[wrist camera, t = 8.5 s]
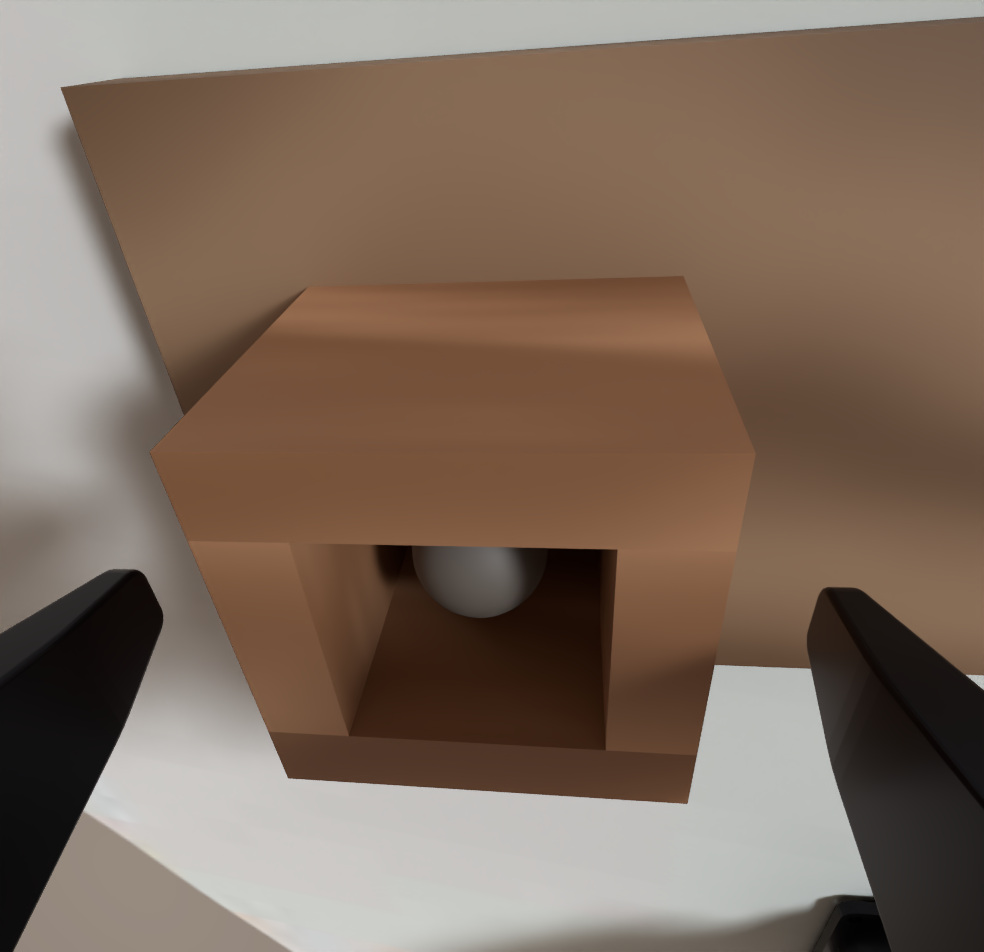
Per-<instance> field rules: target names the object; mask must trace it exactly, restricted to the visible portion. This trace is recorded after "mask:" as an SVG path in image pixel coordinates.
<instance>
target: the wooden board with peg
mask: <svg viewBox="0 0 984 952" xmlns="http://www.w3.org/2000/svg"><path fill="white" fill-rule="evenodd" d="M61 90H62V93H63V95H64V98H65V101H66V103H67V106H68V109H69V111H70V114H71V117H72V119H73V122H74V124H75V127H76V130H77V132H78V135H79V138H80V140H81V143H82V146H83V148H84V151H85V154H86V156H87V159H88V162H89V164H90V167H91V170H92V172H93V175H94V178H95V180H96V183H97V185H98V188H99V191H100V193H101V196H102V199H103V201H104V204H105V207H106V209H107V212H108V215H109V217H110V220H111V223H112V225H113V228H114V231H115V233H116V236H117V239H118V241H119V244H120V246H121V249H122V252H123V254H124V257H125V260H126V262H127V265H128V268H129V270H130V273H131V276H132V278H133V281H134V284H135V286H136V289H137V292H138V294H139V297H140V300H141V302H142V305H143V308H144V310H145V313H146V315H147V318H148V321H149V323H150V326H151V329H152V331H153V334H154V337H155V339H156V342H157V345H158V347H159V350H160V353H161V355H162V358H163V361H164V363H165V366H166V369H167V371H168V374H169V376H170V379H171V382H172V384H173V387H174V390H175V392H176V395H177V398H178V400H179V403H180V406H181V408H182V411H183V414H184V416H185V415H186V414H187V412H188V411H189V410H190V409H191V408H192V407H193V406H194V405H195V404H196V403H197V402H198V401H199V400H200V399H201V398H202V397H203V396H204V395H205V394H206V393H207V392H208V391H209V390H210V389H211V388H212V386H213V385H214V384H215V383H216V382H217V381H218V380H219V379H220V378H221V377H222V376H223V375H224V374H225V373H226V372H227V371H228V370H229V369H230V368H231V367H232V366H233V365H234V364H235V363H236V361H237V360H238V359H239V358H240V357H241V356H242V355H243V354H244V353H245V352H246V351H247V350H248V349H249V348H250V347H251V346H252V345H253V344H254V343H255V342H256V341H257V340H258V339H259V338H260V337H261V335H262V334H263V333H264V332H265V331H266V330H267V329H268V328H269V327H270V326H271V325H272V324H273V323H274V322H275V321H276V320H277V319H278V318H279V317H280V316H281V315H282V314H283V313H284V312H285V311H286V309H287V308H288V307H289V306H290V305H291V304H292V303H293V302H294V301H295V300H296V299H297V298H298V297H299V296H300V295H301V294H302V293H303V292H304V291H305V290H306V289H307V288H308V287H316V286H351V285H386V284H421V283H456V282H491V281H526V280H561V279H596V278H631V277H666V276H684V279H685V281H686V284H687V286H688V288H689V291H690V293H691V296H692V298H693V301H694V303H695V306H696V308H697V311H698V313H699V315H700V318H701V320H702V323H703V325H704V328H705V330H706V333H707V335H708V338H709V340H710V342H711V345H712V347H713V350H714V352H715V355H716V357H717V360H718V362H719V365H720V367H721V369H722V372H723V374H724V377H725V379H726V382H727V384H728V387H729V389H730V392H731V394H732V396H733V399H734V401H735V404H736V406H737V409H738V411H739V414H740V416H741V419H742V421H743V423H744V426H745V428H746V431H747V433H748V436H749V438H750V441H751V443H752V445H753V448H754V450H755V453H756V455H755V460H754V465H753V470H752V475H751V481H750V486H749V491H748V496H747V501H746V506H745V511H744V516H743V522H742V527H741V532H740V537H739V542H738V547H737V552H736V557H735V563H734V568H733V573H732V578H731V583H730V588H729V593H728V598H727V603H726V609H725V614H724V619H723V624H722V629H721V634H720V639H719V644H718V650H717V655H716V660H715V665H732V666H758V667H784V668H810V669H811V666H810V661H809V656H808V651H807V632H808V628H809V625H810V622H811V618H812V615H813V612H814V608H815V605H816V602H817V598H818V595H819V593H820V592H821V590H822V589H824V588H826V587H854V588H858V589H860V590H862V591H864V592H865V593H866V594H867V595H869V596H870V597H871V598H872V599H874V600H875V601H876V602H877V603H878V604H880V605H881V606H882V607H883V608H885V609H886V610H887V611H888V612H889V613H891V614H892V615H893V616H894V617H895V618H897V619H898V620H899V621H900V622H902V623H903V624H904V625H905V626H906V627H908V628H909V629H910V630H911V631H913V632H914V633H915V634H916V635H917V636H919V637H920V638H921V639H922V640H923V641H925V642H926V643H927V644H928V645H930V646H931V647H932V648H933V649H934V650H936V651H937V652H938V653H939V654H940V655H942V656H943V657H944V658H945V659H947V660H948V661H949V662H950V663H951V664H953V665H954V666H955V667H956V668H958V669H959V670H960V671H961V672H962V673H964V674H965V675H984V17H974V18H960V19H946V20H932V21H918V22H904V23H890V24H876V25H862V26H848V27H834V28H820V29H806V30H792V31H778V32H764V33H750V34H736V35H722V36H708V37H694V38H680V39H666V40H652V41H638V42H625V43H611V44H597V45H583V46H569V47H555V48H541V49H527V50H513V51H499V52H485V53H471V54H457V55H443V56H429V57H415V58H401V59H387V60H373V61H359V62H345V63H331V64H317V65H303V66H289V67H275V68H262V69H248V70H234V71H220V72H206V73H192V74H178V75H164V76H150V77H136V78H122V79H114V80H107V81H101V82H94V83H87V84H81V85H74V86H68V87H61ZM412 556H413V563H414V567H415V571H416V574H417V576H418V578H419V580H420V582H421V584H422V586H423V588H424V589H425V591H426V592H427V593H428V594H429V595H430V596H431V597H432V598H433V599H434V600H435V601H436V602H437V603H438V604H440V605H441V606H442V607H444V608H445V609H447V610H449V611H451V612H453V613H456V614H459V615H462V616H466V617H473V618H488V617H493V616H498V615H500V614H503V613H506V612H508V611H510V610H512V609H514V608H516V607H517V606H519V605H520V604H521V603H522V602H524V601H525V600H526V599H527V598H528V597H529V596H530V595H531V594H532V593H533V591H534V590H535V588H536V587H537V586H538V584H539V582H540V580H541V578H542V576H543V573H544V570H545V567H546V562H547V556H548V548H518V547H467V546H416V545H412Z"/></svg>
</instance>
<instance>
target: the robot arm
mask: <svg viewBox="0 0 984 952" xmlns="http://www.w3.org/2000/svg"><path fill="white" fill-rule="evenodd" d="M162 625H163V612H162V609H161V607H160V605H159V603H158V601H157V598H156V596H155V594H154V592H153V590H152V588H151V586H150V584H149V582H148V580H147V578H146V577H145V575H144V574H143V573H142V572H140V571H138V570H128V569H113V570H108V571H106V572H104V573H102V574H101V575H99V576H97V577H96V578H94V579H92V580H91V581H89V582H87V583H85V584H84V585H82V586H80V587H79V588H77V589H75V590H74V591H72V592H70V593H69V594H67V595H65V596H64V597H62V598H60V599H58V600H57V601H55V602H53V603H52V604H50V605H48V606H47V607H45V608H43V609H42V610H40V611H38V612H36V613H35V614H33V615H31V616H30V617H28V618H26V619H25V620H23V621H21V622H20V623H18V624H16V625H15V626H13V627H11V628H9V629H8V630H6V631H4V632H3V633H1V634H0V952H13V951H14V949H15V947H16V945H17V943H18V941H19V939H20V937H21V935H22V933H23V931H24V929H25V927H26V925H27V923H28V921H29V919H30V917H31V915H32V913H33V911H34V909H35V907H36V905H37V903H38V901H39V899H40V897H41V895H42V893H43V890H44V889H45V887H46V885H47V883H48V881H49V879H50V876H51V875H52V872H53V870H54V868H55V866H56V864H57V862H58V860H59V858H60V856H61V854H62V852H63V850H64V848H65V846H66V844H67V842H68V840H69V838H70V836H71V834H72V832H73V830H74V828H75V826H76V824H77V822H78V820H79V818H80V816H81V814H82V812H83V810H84V808H85V806H86V804H87V802H88V800H89V798H90V796H91V794H92V792H93V790H94V788H95V786H96V784H97V782H98V780H99V778H100V776H101V774H102V772H103V770H104V768H105V766H106V764H107V761H108V759H109V757H110V755H111V753H112V751H113V749H114V747H115V745H116V743H117V741H118V739H119V737H120V735H121V732H122V730H123V728H124V726H125V723H126V721H127V718H128V716H129V714H130V711H131V709H132V706H133V703H134V701H135V698H136V695H137V693H138V690H139V687H140V685H141V682H142V679H143V677H144V674H145V671H146V669H147V666H148V663H149V661H150V658H151V656H152V653H153V650H154V648H155V645H156V642H157V640H158V637H159V634H160V632H161V629H162ZM807 651H808V656H809V661H810V666H811V671H812V676H813V681H814V686H815V691H816V695H817V700H818V705H819V710H820V715H821V720H822V725H823V729H824V734H825V739H826V744H827V749H828V753H829V757H830V762H831V766H832V770H833V773H834V776H835V780H836V783H837V786H838V789H839V792H840V795H841V799H842V802H843V805H844V808H845V811H846V814H847V817H848V820H849V823H850V826H851V829H852V832H853V835H854V838H855V841H856V844H857V847H858V850H859V853H860V856H861V859H862V862H863V865H864V868H865V871H866V874H867V878H868V881H869V884H870V887H871V890H872V893H873V896H874V899H875V902H863V901H845V902H842V903H839V904H838V905H837V906H836V908H835V910H834V912H833V914H832V915H831V917H830V919H829V921H828V923H827V925H826V927H825V929H824V931H823V933H822V935H821V937H820V939H819V941H818V943H817V945H816V947H815V948H814V950H813V952H984V690H983V689H982V688H981V687H979V686H978V685H977V684H976V683H975V682H973V681H972V680H971V679H970V678H968V677H967V676H966V675H965V674H964V673H962V672H961V671H960V670H959V669H958V668H956V667H955V666H954V665H953V664H951V663H950V662H949V661H948V660H947V659H945V658H944V657H943V656H942V655H940V654H939V653H938V652H937V651H936V650H934V649H933V648H932V647H931V646H930V645H928V644H927V643H926V642H925V641H923V640H922V639H921V638H920V637H919V636H917V635H916V634H915V633H914V632H913V631H911V630H910V629H909V628H908V627H906V626H905V625H904V624H903V623H902V622H900V621H899V620H898V619H897V618H895V617H894V616H893V615H892V614H891V613H889V612H888V611H887V610H886V609H885V608H883V607H882V606H881V605H880V604H878V603H877V602H876V601H875V600H874V599H872V598H871V597H870V596H869V595H867V594H866V593H865V592H864V591H862V590H860V589H858V588H854V587H826V588H824V589H822V590H821V592H820V593H819V595H818V598H817V602H816V605H815V608H814V612H813V615H812V618H811V622H810V625H809V628H808V632H807Z"/></svg>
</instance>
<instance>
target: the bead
mask: <svg viewBox="0 0 984 952" xmlns="http://www.w3.org/2000/svg"><path fill="white" fill-rule="evenodd" d="M150 454H151V457H152V459H153V461H154V464H155V466H156V468H157V471H158V473H159V475H160V478H161V480H162V483H163V485H164V487H165V490H166V492H167V494H168V497H169V499H170V501H171V504H172V506H173V508H174V511H175V513H176V515H177V518H178V520H179V522H180V525H181V527H182V530H183V532H184V534H185V537H186V539H187V541H188V544H189V546H190V548H191V551H192V553H193V555H194V558H195V560H196V562H197V565H198V567H199V570H200V572H201V574H202V577H203V579H204V581H205V584H206V586H207V588H208V591H209V593H210V595H211V598H212V600H213V602H214V605H215V607H216V610H217V612H218V614H219V617H220V619H221V621H222V624H223V626H224V628H225V631H226V633H227V635H228V638H229V640H230V642H231V645H232V647H233V649H234V652H235V654H236V657H237V659H238V661H239V664H240V666H241V668H242V671H243V673H244V675H245V678H246V680H247V682H248V685H249V687H250V689H251V692H252V694H253V697H254V699H255V701H256V704H257V706H258V708H259V711H260V713H261V715H262V718H263V720H264V722H265V725H266V727H267V729H268V732H269V734H270V737H271V739H272V741H273V744H274V746H275V748H276V751H277V753H278V755H279V758H280V760H281V762H282V765H283V767H284V769H285V772H286V774H287V776H288V778H292V779H308V780H323V781H339V782H355V783H370V784H386V785H402V786H417V787H433V788H448V789H464V790H480V791H495V792H511V793H527V794H542V795H558V796H573V797H589V798H605V799H620V800H636V801H652V802H667V803H683V804H687V803H688V798H689V793H690V788H691V783H692V778H693V772H694V767H695V762H696V757H697V752H698V747H699V742H700V737H701V732H702V726H703V721H704V716H705V711H706V706H707V701H708V696H709V691H710V685H711V680H712V675H713V670H714V665H715V660H716V655H717V650H718V644H719V639H720V634H721V629H722V624H723V619H724V614H725V609H726V603H727V598H728V593H729V588H730V583H731V578H732V573H733V568H734V563H735V557H736V552H737V547H738V542H739V537H740V532H741V527H742V522H743V516H744V511H745V506H746V501H747V496H748V491H749V486H750V481H751V475H752V470H753V465H754V460H755V455H756V453H755V450H754V448H753V445H752V443H751V441H750V438H749V436H748V433H747V431H746V428H745V426H744V423H743V421H742V419H741V416H740V414H739V411H738V409H737V406H736V404H735V401H734V399H733V396H732V394H731V392H730V389H729V387H728V384H727V382H726V379H725V377H724V374H723V372H722V369H721V367H720V365H719V362H718V360H717V357H716V355H715V352H714V350H713V347H712V345H711V342H710V340H709V338H708V335H707V333H706V330H705V328H704V325H703V323H702V320H701V318H700V315H699V313H698V311H697V308H696V306H695V303H694V301H693V298H692V296H691V293H690V291H689V288H688V286H687V284H686V281H685V279H684V276H666V277H631V278H596V279H561V280H526V281H491V282H456V283H421V284H386V285H351V286H316V287H308V288H307V289H306V290H305V291H304V292H303V293H302V294H301V295H300V296H299V297H298V298H297V299H296V300H295V301H294V302H293V303H292V304H291V305H290V306H289V307H288V308H287V309H286V311H285V312H284V313H283V314H282V315H281V316H280V317H279V318H278V319H277V320H276V321H275V322H274V323H273V324H272V325H271V326H270V327H269V328H268V329H267V330H266V331H265V332H264V333H263V334H262V335H261V337H260V338H259V339H258V340H257V341H256V342H255V343H254V344H253V345H252V346H251V347H250V348H249V349H248V350H247V351H246V352H245V353H244V354H243V355H242V356H241V357H240V358H239V359H238V360H237V361H236V363H235V364H234V365H233V366H232V367H231V368H230V369H229V370H228V371H227V372H226V373H225V374H224V375H223V376H222V377H221V378H220V379H219V380H218V381H217V382H216V383H215V384H214V385H213V386H212V388H211V389H210V390H209V391H208V392H207V393H206V394H205V395H204V396H203V397H202V398H201V399H200V400H199V401H198V402H197V403H196V404H195V405H194V406H193V407H192V408H191V409H190V410H189V411H188V412H187V414H186V415H185V416H184V417H183V418H182V419H181V420H180V421H179V422H178V423H177V424H176V425H175V426H174V427H173V428H172V429H171V430H170V431H169V432H168V433H167V434H166V435H165V436H164V437H163V438H162V440H161V441H160V442H159V443H158V444H157V445H156V446H155V447H154V448H153V449H152V450H151V451H150ZM412 545H416V546H467V547H518V548H548V556H547V562H546V567H545V570H544V573H543V576H542V578H541V580H540V582H539V584H538V586H537V587H536V588H535V590H534V591H533V593H532V594H531V595H530V596H529V597H528V598H527V599H526V600H525V601H524V602H522V603H521V604H520V605H519V606H517V607H516V608H514V609H512V610H510V611H508V612H506V613H503V614H500V615H498V616H493V617H488V618H473V617H466V616H462V615H459V614H456V613H453V612H451V611H449V610H447V609H445V608H444V607H442V606H441V605H440V604H438V603H437V602H436V601H435V600H434V599H433V598H432V597H431V596H430V595H429V594H428V593H427V592H426V591H425V589H424V588H423V586H422V584H421V582H420V580H419V578H418V576H417V574H416V571H415V567H414V563H413V556H412Z"/></svg>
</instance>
